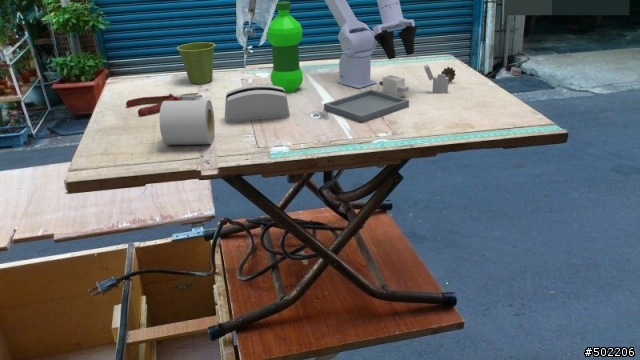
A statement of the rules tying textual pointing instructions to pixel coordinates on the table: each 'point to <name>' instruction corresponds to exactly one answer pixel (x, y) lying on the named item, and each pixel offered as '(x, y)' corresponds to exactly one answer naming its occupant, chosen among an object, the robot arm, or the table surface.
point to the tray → (366, 105)
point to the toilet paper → (187, 122)
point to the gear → (449, 73)
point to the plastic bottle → (285, 49)
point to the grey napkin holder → (256, 103)
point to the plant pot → (198, 61)
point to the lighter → (438, 81)
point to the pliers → (157, 102)
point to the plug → (394, 86)
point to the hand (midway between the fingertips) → (401, 56)
